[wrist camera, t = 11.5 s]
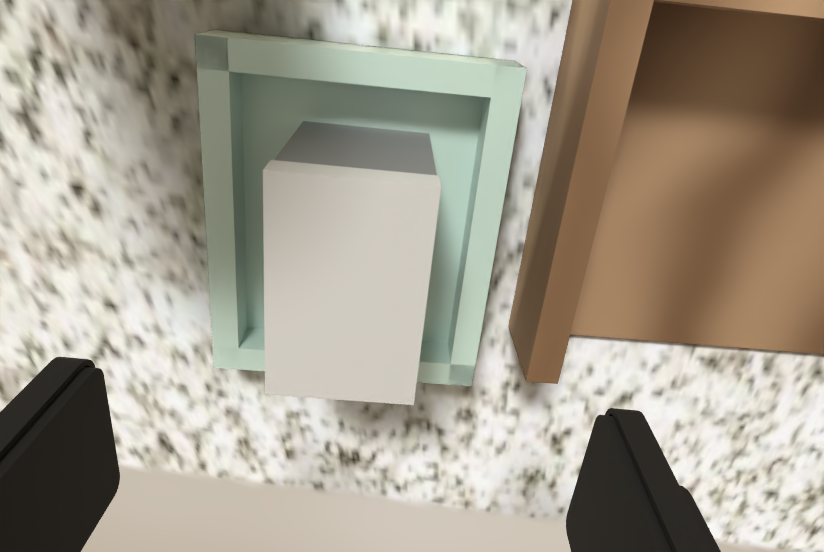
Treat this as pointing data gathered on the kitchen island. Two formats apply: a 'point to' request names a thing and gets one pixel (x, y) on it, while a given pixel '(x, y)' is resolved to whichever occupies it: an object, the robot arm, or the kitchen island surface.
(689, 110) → the bay
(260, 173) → the tray
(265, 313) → the off-white upright block
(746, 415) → the kitchen island surface
